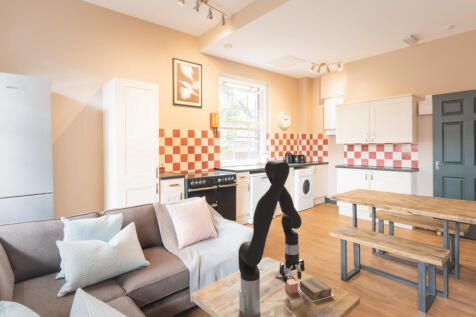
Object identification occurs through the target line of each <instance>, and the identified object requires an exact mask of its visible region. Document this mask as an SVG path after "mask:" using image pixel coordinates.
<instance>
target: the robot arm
mask: <svg viewBox="0 0 476 317" xmlns="http://www.w3.org/2000/svg"><path fill="white" fill-rule="evenodd" d="M290 170H291V169H290V165H289V163H288V162H287V161H284V160H277V159H269V160H268V161H267V162H266V164H265V165H264V172H265V175H266V177H267V179H268V181H269V183H270V184H271V185H269V188H268V189H267V191H266V192H265V193H264V194H263V195H262V196H261V197H260V198H259V200H258V201H257V203H256V206H255V209H254V212H253V218H252V219H253V221H252V222H253V223H252V224H253V231H252V238H251V240H250V241H248V240H247V241H244V242H242V243H241V244H240V246H239V248H238V253H237V254H238V255H237V256H238V269H239V274H240V290H239V291H238V292H239V294H238V295H239V296H238V297H239V300H238V301H239V302H238V304H239V305H238V306H239V311H240V312H241V315H242V316H243V317H257V316H258V315H260V313H261V284H260V283H261V281H260V279H261V278H260V277H261V274H260V269H259V267H258V265H260V262H262V258H263V257H264V252H265V246H266V241H267V238H268V234H269V232H270V228H271V224H272V222H273V219H274V216H275V212H276V209H277V206H278V205H279V208H280V210H281V212H282V214H283V215H282V217H281V226H282V230H283V234H284V263H282V262H280V263H279V268H280V272H279V273H280V274H281V275H282V276H281V277H282V281H283V282H284V284H285V283H287V280H288V278H287V276H288V273H289V272H290V271H292V270H293V271H297V272H296V278H297V279H298V280H300V281H301V279H302V273H303V272H304V271H305V261H304V259H302V258H300V246H299V245H300V244H299V233H298V232H297V231H295V230H298V229H300V228H301V226H302V224H303V222H302V218H301V215H300V214H299V212H298V210H297V209H296V208H295V204H294V201H293V197H292V195H291V194H290V192H289V191H288V189H287V188H286V187H285V184H286V182H287V180H288V177H289V175H290ZM285 266H286V267H285ZM287 269H288V270H287Z"/></svg>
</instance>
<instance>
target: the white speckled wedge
mask: <svg viewBox="0 0 476 317" xmlns="http://www.w3.org/2000/svg"><path fill="white" fill-rule="evenodd" d="M285 267H286V266H285ZM287 270H288V269H287ZM279 272H280V267H279V268H278V269H274V270H273V275H274V276H275V277H276V278H279V276H281V277H283V276H282V275H281V274H280V273H279ZM293 274H294V270H292V271H290V272H289V273H288V274H287V280H289V279H293Z"/></svg>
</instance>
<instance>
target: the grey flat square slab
mask: <svg viewBox="0 0 476 317" xmlns="http://www.w3.org/2000/svg"><path fill="white" fill-rule="evenodd" d="M298 292H300V293H301V294H302V295H304V296H305V298H307V299H308V300H309V301H311V303H315V302H319V301H323V300H326V299H328V298H329V299H330V298H332V297H335V294H333V293H331V296H328V297H324V298H321V299H317V300H313V299H312V298H310V297H309V296H308V295H307V294H306V293H305V292H303V291H302V290H301V289H300V286H298Z"/></svg>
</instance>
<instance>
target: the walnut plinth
mask: <svg viewBox="0 0 476 317" xmlns="http://www.w3.org/2000/svg"><path fill="white" fill-rule="evenodd" d="M299 287H300V289H301V290H302V291H303V292H305V293H306V294H307V295H308V296H309V297H310V298H312V299H313V300H317V299H321V298H324V297H328V296H331V294H332V288H331V286H329V285H328V284H326V283H325V282H323V281H322V280H320V279H319V278H318V277H313V278H312V277H311V278H308V279H303V280H300V281H299Z"/></svg>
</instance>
